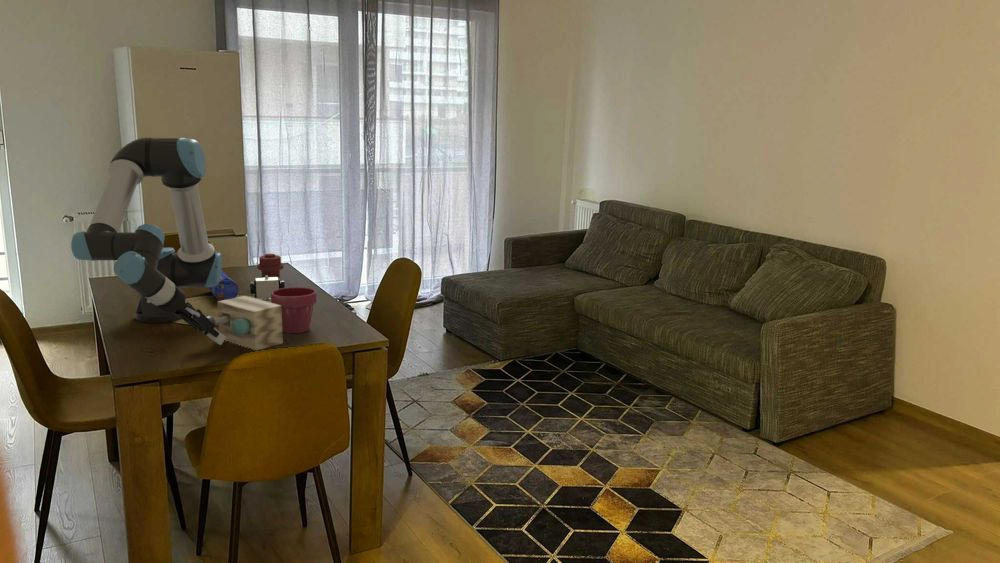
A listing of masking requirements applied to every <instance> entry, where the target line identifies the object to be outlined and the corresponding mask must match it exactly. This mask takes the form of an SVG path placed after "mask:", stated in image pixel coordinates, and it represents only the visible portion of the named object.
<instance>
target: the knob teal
mask: <svg viewBox="0 0 1000 563" xmlns="http://www.w3.org/2000/svg"><path fill="white" fill-rule="evenodd" d="M232 330H233V332H234V334H235V335H237V336H240V335H244V334H248V333H249V332H250V321H248V320H247V319H246V318H242V319H237V320H234V321H233V322H232Z"/></svg>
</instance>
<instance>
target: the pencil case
mask: <svg viewBox="0 0 1000 563" xmlns="http://www.w3.org/2000/svg"><path fill="white" fill-rule="evenodd" d="M207 288H208V289H209V290H210V292H211V293H212V294H213V296H214V297H216V299H217V301H222V300H227V299H232V298H237V297H238V294H239V286H238V283H237V282H236V281H234V280H233V279H232V278H230V277H229V276H228V274H226V272H225V271H223V270H222V271H221V277H220V281H219V283H218V285H217V286H215V287H207Z"/></svg>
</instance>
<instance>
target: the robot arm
mask: <svg viewBox="0 0 1000 563" xmlns="http://www.w3.org/2000/svg"><path fill="white" fill-rule="evenodd" d="M107 170H108V174H109V176H108V179H107V180H106V183H105V185H104V188H103V190H102V193H101V196H100V198H99V201H98V203H97V205H96V208H95V211H94V212H93V216H92V218H91V220H90V223H89V225H88V228H87V230H86V231H79V232H78V231H77V232H75V233H74V234H73V236H72V237H71V243H70V244H71V246H70V248H71V252H72V254H73V257H75V259H76V260H79V261H80V260H81V261H91V262H93V261H115V262H114V264H113V272H114V274H115V275H116V276H117V277H118V278H119V279H121V281H122V282H123V283H124V284H126V285H128V286H129V287H130V288H132V289H133V290H135V291H136V292H137V293H138V294H139V298H138V300H137V305H136V309H135V314H134V315H135V320H136V321H137V322H140V323H150V324H157V323H167V322H174V321H177V320H180V319H182V320H183V321H184V322H185V323H187V324H188V325H190V327H192V328H194V329H195V330H198V331H199V330H200V331H204V332H203V333H202V334H203V335H204V336H207V337H208V338H209V339H210V340H212V341H213V342H215V343H216V344H218V345H220V346H222V345H223V343H224V342H225V341H224V340H225V339H226V337H225V336H224V335H223V334H222V333H220V332H219V329H217V328H216V326H215V325H214V324H213V323H212V322H211V321H210V320H209V319H208V318H207V317H206V316H207V315H205V314H203V312H202V310H201V309H199V308H198V309H196V308H194V307H193V304H191V303H190V302H189V301H186V297H187V295H186V292H185V291H184V290H182V289H181V288H204V289H206V288H208V287H215V286H217V285H218V283H219V281H220V277H221V271H223V269H222V268H223V255H222V253H221V252H216V250H215V247H214V245H213V244H211V243H209V238H208V232H207V228H206V222H205V218H204V217H205V216H204V211H203V206H202V200H201V194H200V189H199V184H200V183H201V182H202V178H203V177H204V176H206V171H207V164H206V156H205V152H204V150H203V146H202V145H201V144H200V143H199V142H198V141H197V140H196V139H192V138H185V137H179V138H177V137H174V138H173V137H171V138H170V137H141V138H137V139H135V140H134V139H133V140H132V141H130V142H129V143H126V145H124V146H123V147H121V148H120V149H119V150H118V151H117V152H116V153H115V154H114V156H113V158H112V159H111V161H110V163H109V165H108V169H107ZM145 177H158V178H160V179H161V183H162V185H163V186H164V187H165V188H168V191H169V196H170V201H171V207H172V210H173V216H174V220H175V224H176V230H177V234H178V240H179V244H180V248H179V249H178V250H177V252H176V250H175V248H174V247H164V245H165V243H164V242H165V233H164V231H163V229H161V228H160V227H159V226H157V225H155V224H152V223H144V224H140V225H139V226H138V227H137V228H136V229H135V231H134V232H130V231H129V232H128V231H126V232H124V231H121V232H120V230H121V228H122V226H123V223H124V219H125V218H126V215H127V213H128V212H127V211H128V210H129V206H130V204H131V201H132V198H133V196H134V192H135V190H136V188H137V185H139V184H141V183H142V182H143V180H144V178H145ZM179 318H180V319H179ZM173 320H174V321H173ZM214 327H215V328H214ZM200 331H199V332H200Z"/></svg>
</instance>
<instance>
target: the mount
mask: <svg viewBox="0 0 1000 563" xmlns="http://www.w3.org/2000/svg"><path fill="white" fill-rule="evenodd" d="M216 302H217V304H216V305H217V318H219V317H223V316H228V315H230V322H229V323H225V324H221V325H218V331H219V332H220V333H222V334H223V335H224V336H225V337H226V339H225V341H224V342H227V341H229V342H228V343H231V342H232V343H231V344H234V343H235V344H234V345H237V344H238V345H237V346H240V345H241V347H243V346H244V347H243V348H246V347H248V348H247V349H249V348H251V349H250V350H252V349H253V350H252V351H255V350H256V351H260V350H264V349H266V348H270V347H273V346H277V345H281V344H284V341H283V339H284V337H283V331H282V308H281V305H278V304H274V303H270V302H267V301H263V300H262V299H260V298H255V297H251V296H247V295H242V296H236V298H232V299H227V300H222V301H219V300H217V301H216ZM242 318H246V319H247V320H248V321H250V332H249V333H248V334H244V335H240V336H237V335H235V334H234V332H233V330H232V322H233V321H234V320H237V319H242Z"/></svg>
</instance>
